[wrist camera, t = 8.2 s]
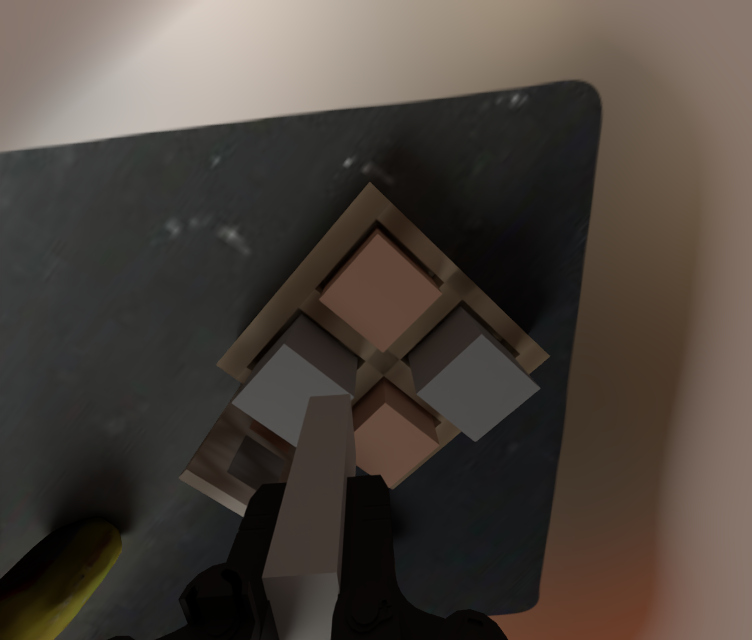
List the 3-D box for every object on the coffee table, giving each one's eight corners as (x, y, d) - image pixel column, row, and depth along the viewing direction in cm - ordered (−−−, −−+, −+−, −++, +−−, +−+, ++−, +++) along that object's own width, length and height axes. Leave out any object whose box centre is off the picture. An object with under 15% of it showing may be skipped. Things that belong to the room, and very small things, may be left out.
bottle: (58, 562, 43) (-180, 847, 25) (25, 526, 41) (-263, 807, 23) (145, 540, 42) (-35, 820, 23) (115, 501, 40) (-109, 775, 21)
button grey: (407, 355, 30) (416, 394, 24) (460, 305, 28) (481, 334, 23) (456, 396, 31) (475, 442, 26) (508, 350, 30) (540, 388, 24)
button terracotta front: (328, 279, 30) (318, 299, 24) (376, 224, 29) (377, 233, 23) (381, 323, 31) (383, 352, 26) (429, 274, 30) (442, 293, 24)
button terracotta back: (340, 407, 34) (335, 450, 29) (383, 366, 33) (385, 402, 27) (386, 441, 36) (389, 488, 30) (428, 403, 34) (439, 445, 29)
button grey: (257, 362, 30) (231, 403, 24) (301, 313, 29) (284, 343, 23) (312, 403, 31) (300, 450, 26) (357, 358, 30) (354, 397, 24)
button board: (214, 367, 34) (138, 454, 23) (370, 182, 29) (368, 179, 18) (368, 475, 39) (367, 590, 28) (527, 335, 34) (606, 409, 22)
